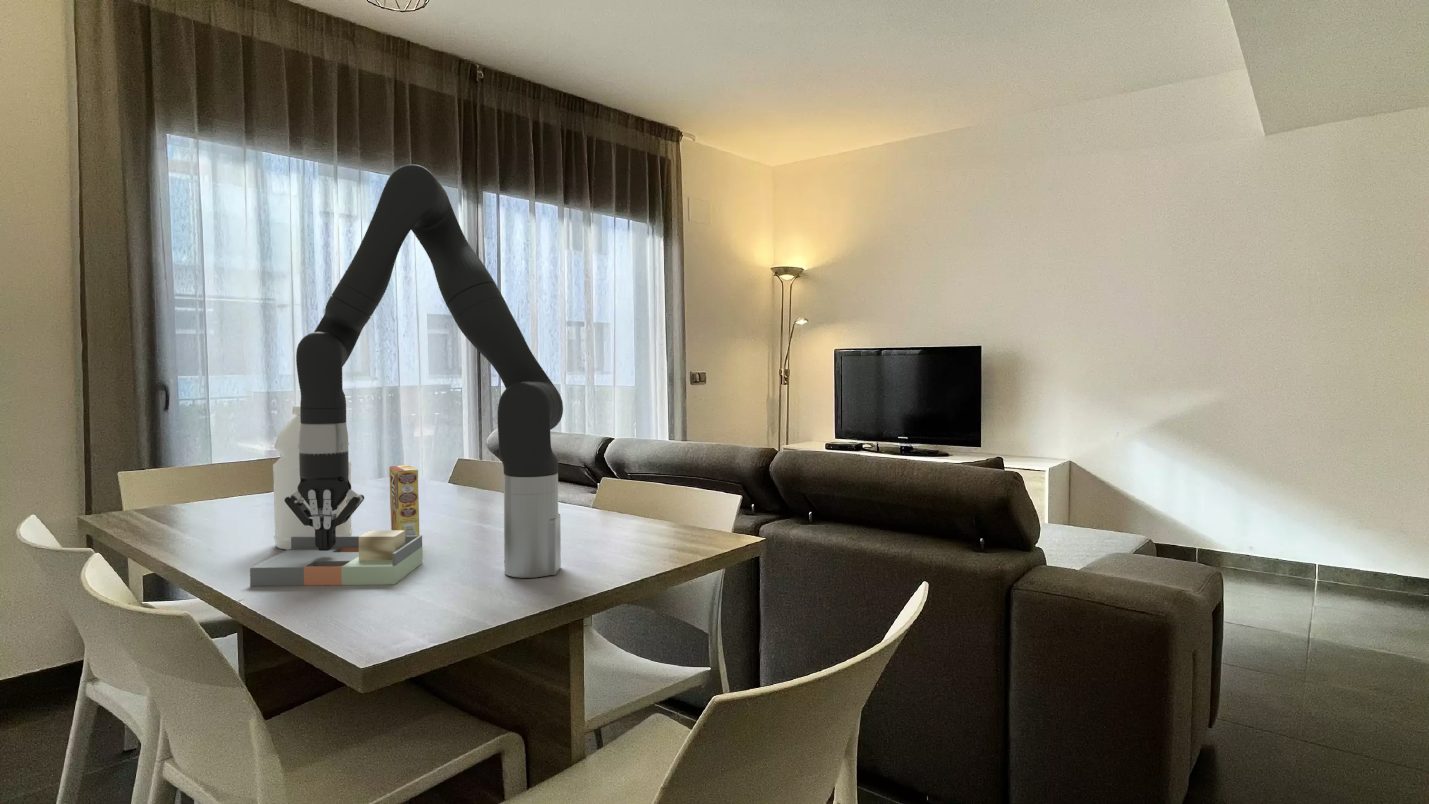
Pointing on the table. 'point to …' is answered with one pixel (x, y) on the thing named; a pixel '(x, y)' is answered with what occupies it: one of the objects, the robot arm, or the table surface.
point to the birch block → (380, 544)
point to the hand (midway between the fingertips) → (325, 549)
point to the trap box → (335, 564)
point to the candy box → (404, 499)
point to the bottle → (294, 488)
